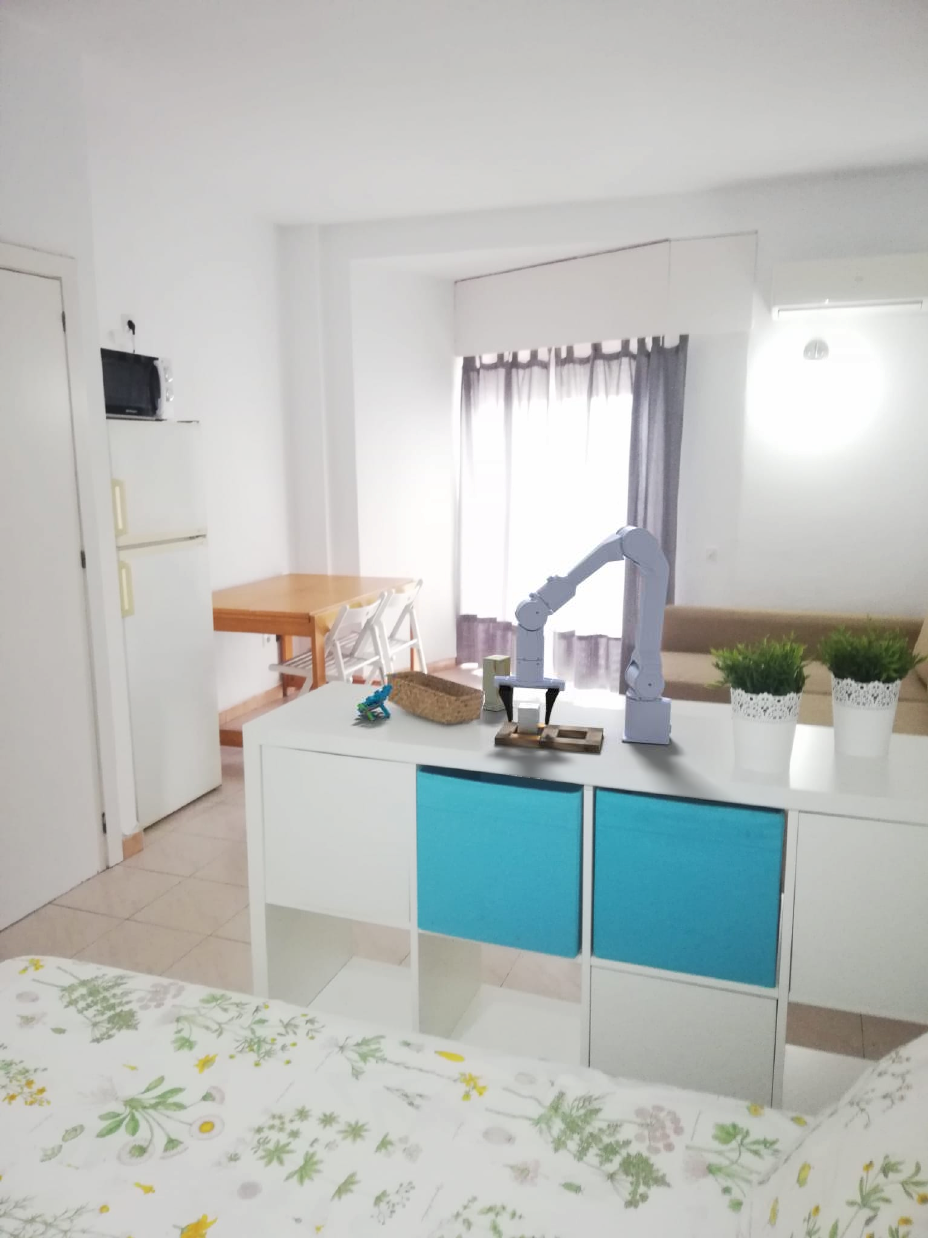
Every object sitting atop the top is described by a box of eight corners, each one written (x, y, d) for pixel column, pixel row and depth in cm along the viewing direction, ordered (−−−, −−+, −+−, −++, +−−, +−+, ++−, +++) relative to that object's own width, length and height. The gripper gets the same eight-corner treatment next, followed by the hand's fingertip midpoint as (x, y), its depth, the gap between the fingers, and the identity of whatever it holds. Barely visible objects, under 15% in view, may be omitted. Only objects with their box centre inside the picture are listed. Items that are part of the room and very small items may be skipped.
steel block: (539, 736, 179) (539, 703, 178) (536, 742, 175) (537, 708, 174) (520, 735, 180) (520, 702, 179) (517, 740, 176) (517, 707, 175)
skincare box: (497, 712, 197) (498, 660, 195) (481, 709, 199) (481, 658, 197) (510, 706, 203) (511, 655, 201) (494, 703, 205) (495, 653, 203)
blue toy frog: (379, 700, 201) (398, 676, 194) (394, 720, 199) (414, 696, 193) (345, 716, 192) (364, 691, 186) (360, 737, 191) (380, 713, 185)
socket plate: (603, 735, 180) (603, 727, 180) (599, 752, 168) (599, 744, 168) (505, 728, 185) (505, 720, 184) (494, 744, 173) (494, 736, 173)
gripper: (567, 656, 177) (565, 719, 179) (498, 652, 180) (497, 714, 182) (563, 663, 170) (562, 728, 172) (492, 659, 173) (491, 723, 176)
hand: (528, 722), depth 177 cm, fingers open, 7 cm apart
